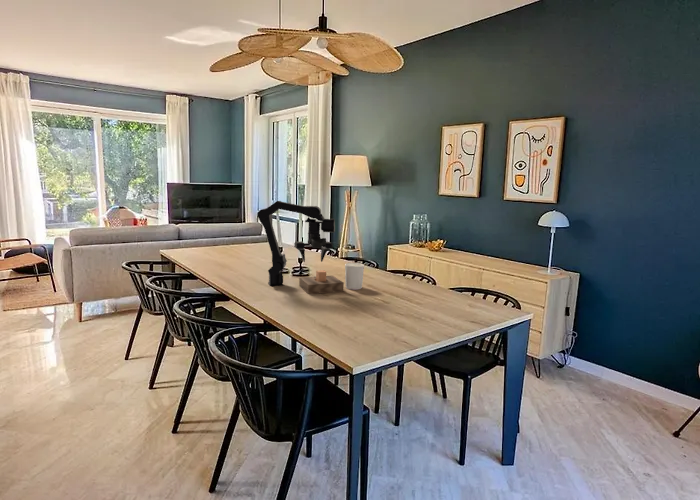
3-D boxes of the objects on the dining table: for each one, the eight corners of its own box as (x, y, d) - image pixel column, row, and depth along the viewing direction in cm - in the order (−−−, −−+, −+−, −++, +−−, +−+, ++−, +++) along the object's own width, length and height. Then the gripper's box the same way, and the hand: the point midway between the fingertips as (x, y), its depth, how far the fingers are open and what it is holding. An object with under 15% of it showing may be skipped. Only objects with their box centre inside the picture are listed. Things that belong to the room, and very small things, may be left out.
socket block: (308, 294, 208) (308, 284, 208) (299, 285, 223) (299, 277, 222) (343, 291, 215) (343, 282, 214) (332, 283, 230) (332, 275, 229)
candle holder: (340, 288, 222) (341, 265, 220) (349, 284, 230) (350, 262, 228) (357, 291, 217) (358, 267, 215) (366, 287, 226) (367, 264, 224)
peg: (318, 290, 217) (318, 272, 215) (315, 288, 220) (316, 270, 219) (325, 289, 218) (326, 271, 216) (323, 287, 222) (323, 270, 220)
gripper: (299, 233, 208) (298, 265, 211) (336, 233, 215) (335, 264, 218) (294, 230, 219) (293, 261, 221) (329, 230, 225) (328, 260, 228)
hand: (312, 261), depth 222 cm, fingers open, 9 cm apart
